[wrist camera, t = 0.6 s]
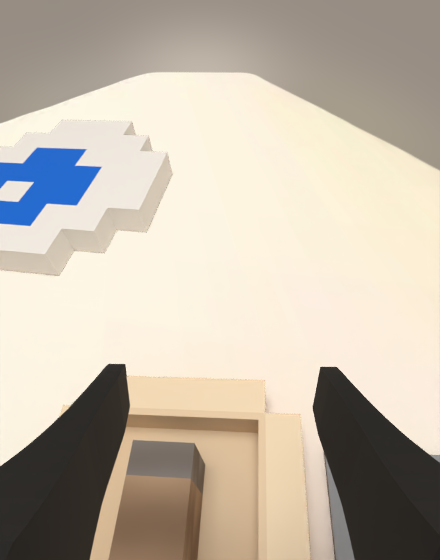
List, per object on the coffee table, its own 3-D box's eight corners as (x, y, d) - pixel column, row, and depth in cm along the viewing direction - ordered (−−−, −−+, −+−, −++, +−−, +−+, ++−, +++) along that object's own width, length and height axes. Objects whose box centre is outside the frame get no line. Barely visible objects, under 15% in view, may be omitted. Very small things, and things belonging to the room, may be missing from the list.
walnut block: (195, 585, 23) (179, 588, 18) (134, 579, 23) (103, 581, 19) (205, 464, 27) (194, 443, 23) (153, 461, 28) (133, 439, 23)
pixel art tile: (114, 260, 37) (-109, 240, 42) (125, 284, 40) (-84, 262, 45) (181, 122, 54) (17, 119, 59) (186, 146, 57) (29, 141, 62)
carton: (315, 732, 19) (324, 760, 16) (-1, 691, 21) (-40, 709, 18) (294, 398, 30) (298, 381, 28) (89, 391, 32) (73, 374, 29)
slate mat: (525, 650, 20) (529, 651, 20) (342, 631, 21) (344, 632, 21) (463, 458, 27) (465, 456, 26) (324, 451, 28) (324, 449, 27)
